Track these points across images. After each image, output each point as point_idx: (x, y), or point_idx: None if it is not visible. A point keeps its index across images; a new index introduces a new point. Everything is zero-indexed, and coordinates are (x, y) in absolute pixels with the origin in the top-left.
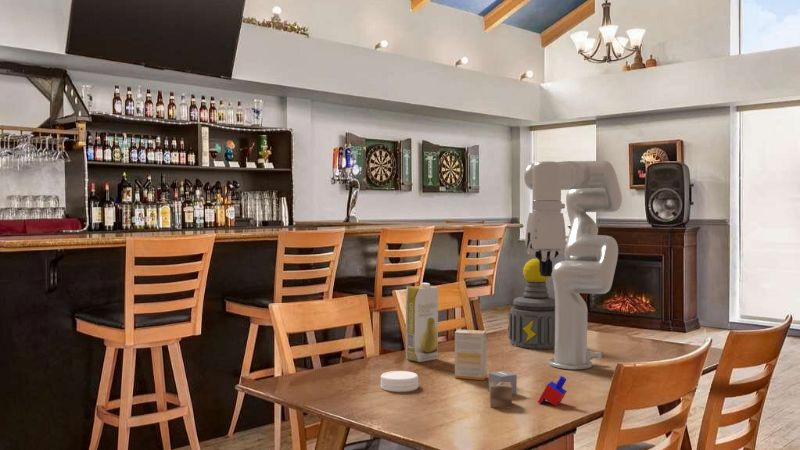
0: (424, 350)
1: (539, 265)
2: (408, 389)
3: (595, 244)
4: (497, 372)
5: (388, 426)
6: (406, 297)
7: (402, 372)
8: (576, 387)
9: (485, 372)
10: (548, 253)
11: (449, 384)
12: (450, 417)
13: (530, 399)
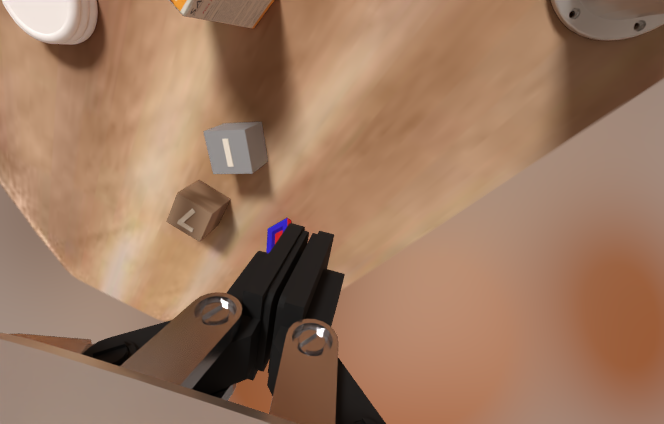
0: None
1: (237, 278)
2: (71, 44)
3: None
4: (222, 137)
5: (35, 209)
6: None
7: None
8: (412, 181)
9: (264, 5)
10: (292, 409)
11: (168, 25)
12: (117, 217)
13: (271, 203)
